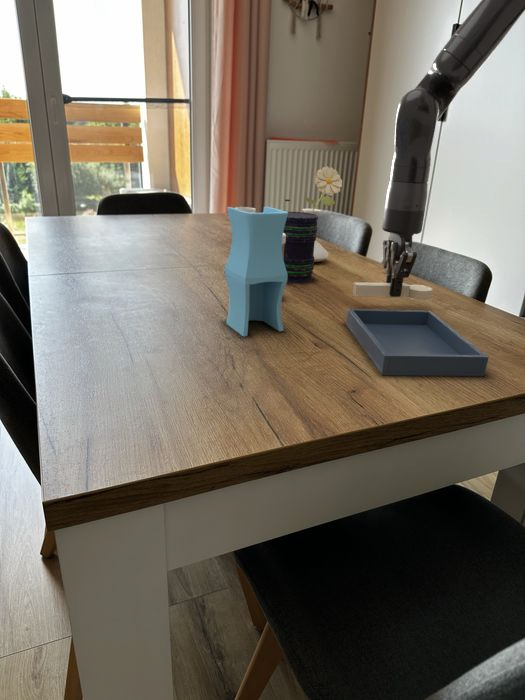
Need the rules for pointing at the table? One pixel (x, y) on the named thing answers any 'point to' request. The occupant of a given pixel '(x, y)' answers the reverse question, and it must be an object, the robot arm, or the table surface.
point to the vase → (256, 268)
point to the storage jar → (299, 246)
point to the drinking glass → (246, 209)
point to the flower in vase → (324, 201)
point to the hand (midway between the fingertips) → (392, 293)
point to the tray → (414, 344)
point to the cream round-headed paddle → (384, 288)
